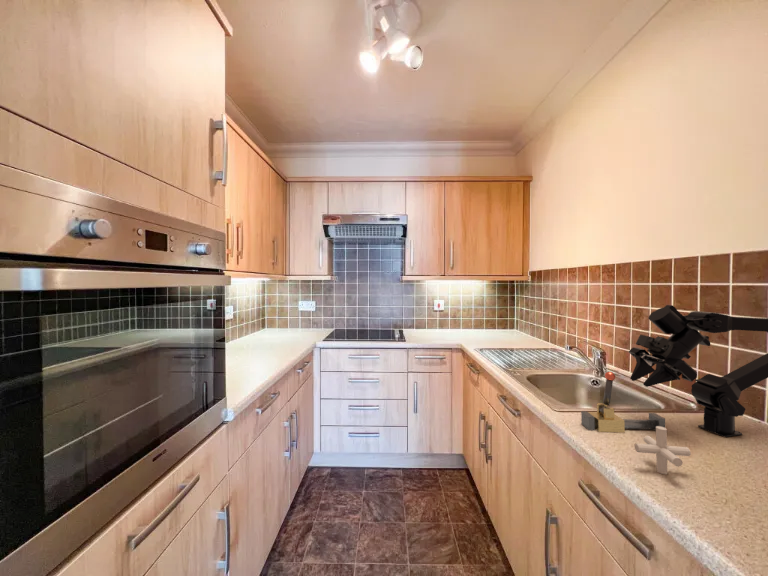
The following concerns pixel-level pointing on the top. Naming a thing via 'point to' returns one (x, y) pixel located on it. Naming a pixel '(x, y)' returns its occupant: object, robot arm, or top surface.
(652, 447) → the pipe connector
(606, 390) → the valve lever
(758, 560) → the top surface
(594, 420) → the valve pipe
